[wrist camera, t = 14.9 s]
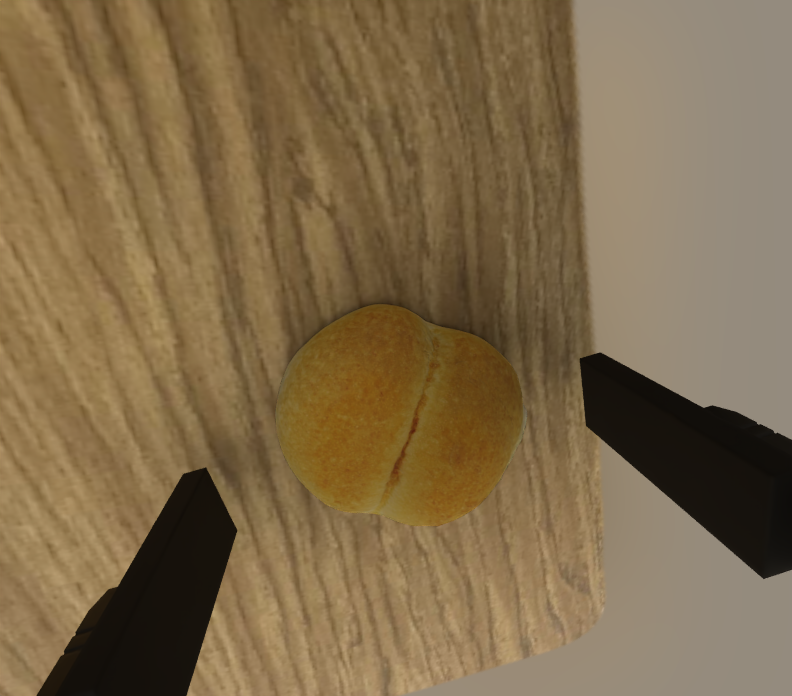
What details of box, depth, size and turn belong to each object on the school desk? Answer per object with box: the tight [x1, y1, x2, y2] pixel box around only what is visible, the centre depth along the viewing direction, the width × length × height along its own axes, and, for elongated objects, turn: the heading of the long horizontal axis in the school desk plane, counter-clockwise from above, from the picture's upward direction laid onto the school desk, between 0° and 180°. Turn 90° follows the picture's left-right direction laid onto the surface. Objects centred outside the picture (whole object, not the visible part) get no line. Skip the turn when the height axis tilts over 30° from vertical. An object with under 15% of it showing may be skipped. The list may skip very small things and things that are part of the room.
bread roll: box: [275, 304, 527, 526], centre depth 15 cm, size 8×9×4 cm
